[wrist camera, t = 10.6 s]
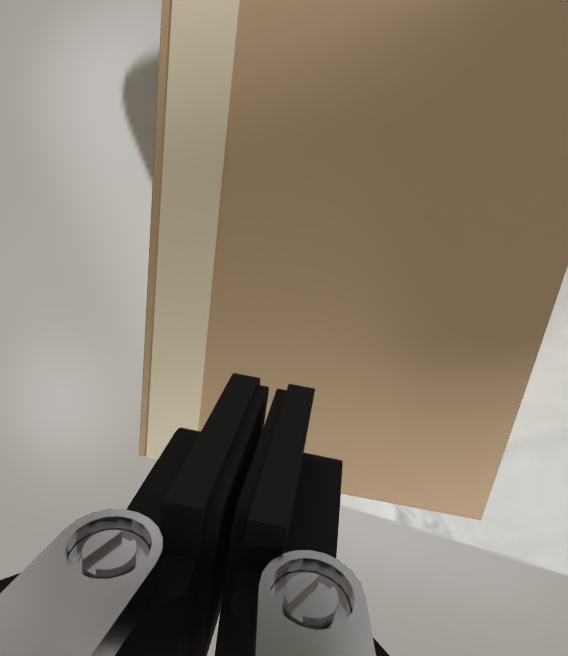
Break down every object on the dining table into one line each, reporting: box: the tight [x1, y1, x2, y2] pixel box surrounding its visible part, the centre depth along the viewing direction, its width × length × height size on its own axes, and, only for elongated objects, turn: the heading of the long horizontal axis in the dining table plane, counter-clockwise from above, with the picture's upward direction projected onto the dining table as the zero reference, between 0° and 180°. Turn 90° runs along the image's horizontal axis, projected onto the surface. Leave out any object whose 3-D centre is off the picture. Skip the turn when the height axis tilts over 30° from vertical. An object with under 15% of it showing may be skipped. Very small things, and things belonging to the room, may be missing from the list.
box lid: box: [139, 0, 568, 520], centre depth 22 cm, size 21×17×1 cm
